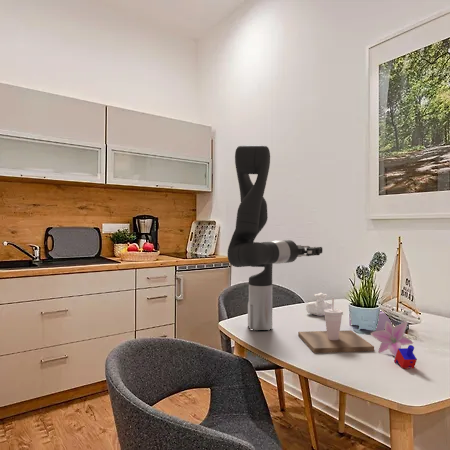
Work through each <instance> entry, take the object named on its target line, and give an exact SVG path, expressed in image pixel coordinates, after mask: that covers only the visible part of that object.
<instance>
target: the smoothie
mask: <svg viewBox="0 0 450 450" xmlns="http://www.w3.org/2000/svg"><path fill="white" fill-rule="evenodd" d="M334 301H335V297H331V304H332V309H325V310H324V314H325V315H324V319H325V327H326V331H327V338H328V339H329V340H338V339H339V333H340V331H341V324H342V316H343V315H344V314H343V313H344V311H343V310H341V309H337V308H335V305H334V304H335V302H334Z"/></svg>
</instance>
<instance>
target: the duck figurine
mask: <svg viewBox="0 0 450 450" xmlns="http://www.w3.org/2000/svg"><path fill="white" fill-rule="evenodd" d="M313 296H314V297H315V298H316V301H311V302H307V304H306V305H305V310H306V313H307V314H309V315H313V316H318V317H319V316H320V317H322V316H323V317H325V314H324V310H325V309H332V302H329V301H327V300H326V297H327V296H328V294H327V293H323V292H318V293H313Z"/></svg>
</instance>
